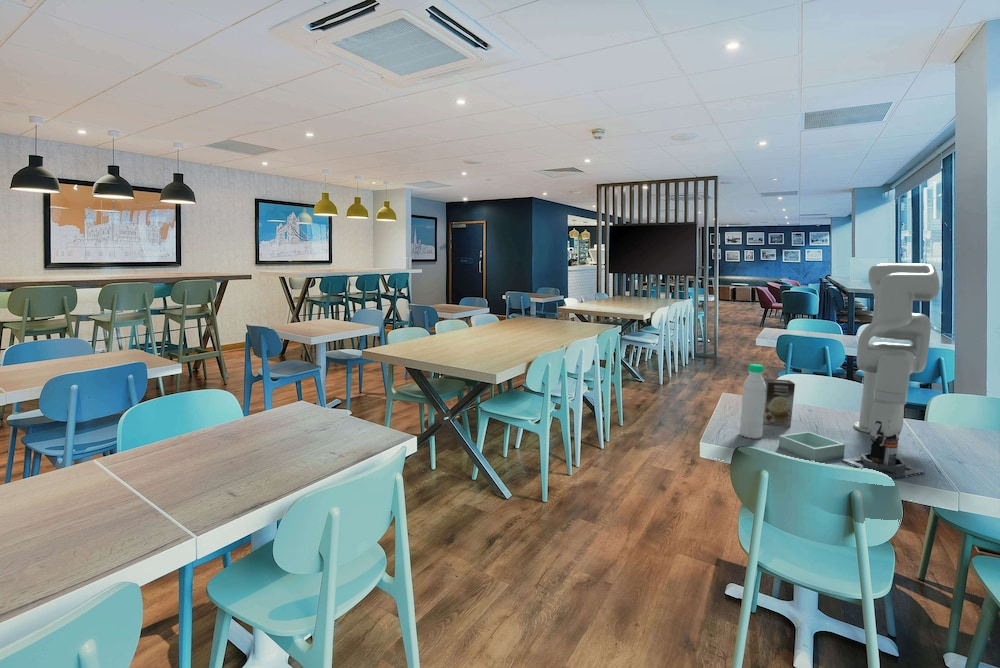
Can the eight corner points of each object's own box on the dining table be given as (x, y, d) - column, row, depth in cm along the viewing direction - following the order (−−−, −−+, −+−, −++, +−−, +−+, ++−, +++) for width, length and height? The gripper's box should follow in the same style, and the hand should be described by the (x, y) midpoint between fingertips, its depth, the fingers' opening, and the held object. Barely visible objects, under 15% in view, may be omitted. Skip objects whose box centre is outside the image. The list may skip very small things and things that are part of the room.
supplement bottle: (864, 463, 154) (868, 427, 152) (883, 463, 154) (887, 426, 153) (880, 471, 148) (885, 434, 146) (900, 471, 149) (904, 433, 147)
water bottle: (764, 440, 174) (770, 367, 170) (742, 438, 175) (747, 366, 172) (758, 433, 181) (764, 363, 177) (737, 431, 182) (742, 362, 178)
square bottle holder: (874, 455, 160) (875, 448, 160) (924, 473, 147) (925, 465, 147) (842, 461, 155) (842, 453, 155) (890, 480, 142) (891, 471, 142)
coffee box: (764, 424, 190) (767, 382, 188) (759, 419, 196) (763, 378, 194) (791, 426, 188) (795, 383, 186) (786, 421, 194) (789, 379, 192)
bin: (807, 443, 171) (808, 431, 171) (843, 456, 159) (845, 444, 159) (778, 447, 167) (779, 435, 166) (813, 461, 155) (815, 449, 155)
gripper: (890, 389, 156) (883, 446, 158) (860, 397, 147) (853, 456, 150) (920, 395, 149) (912, 454, 152) (890, 403, 141) (883, 465, 143)
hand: (883, 455), depth 151 cm, fingers open, 6 cm apart
